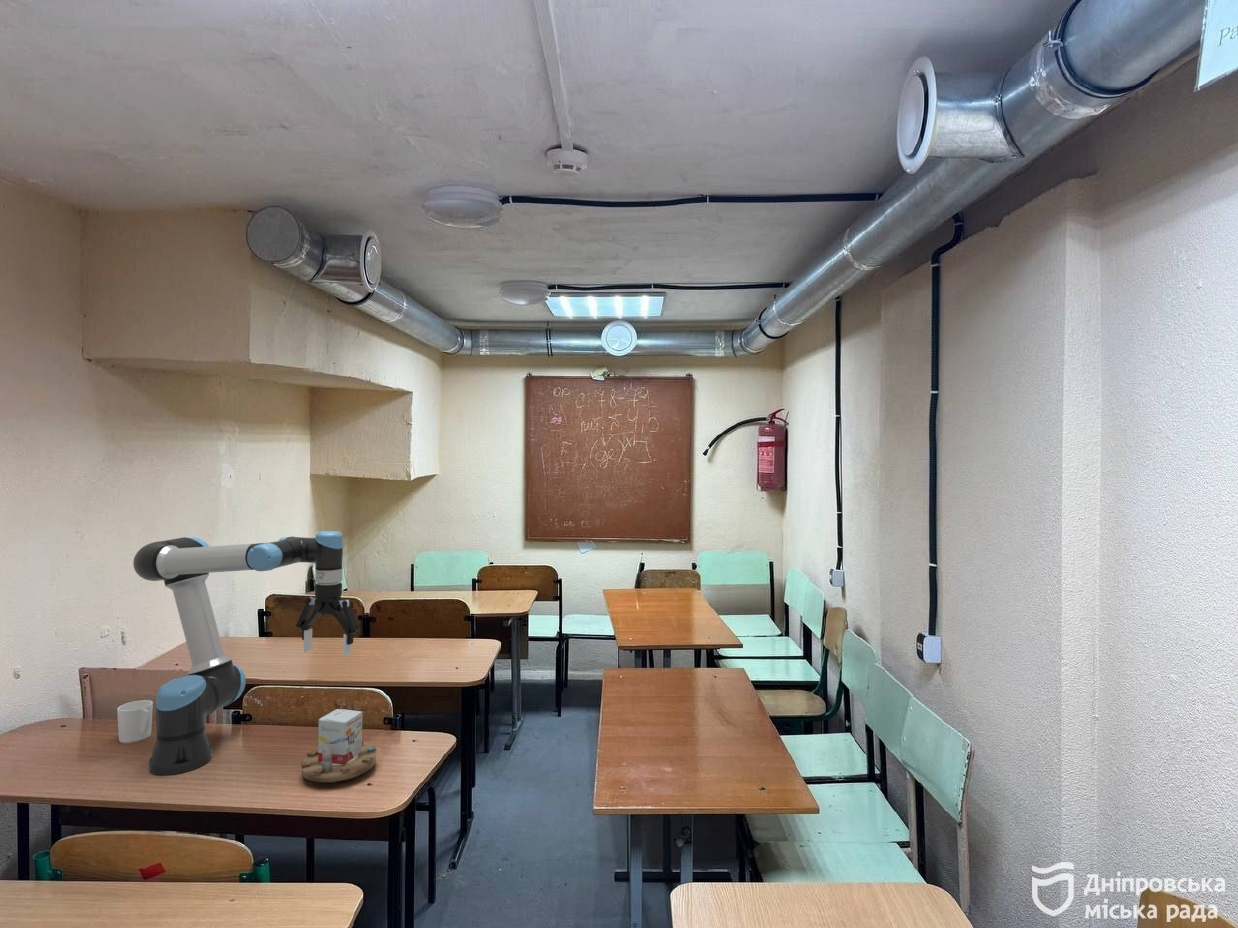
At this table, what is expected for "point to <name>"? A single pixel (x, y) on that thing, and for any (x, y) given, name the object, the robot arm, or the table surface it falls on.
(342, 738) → the ink box
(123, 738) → the mug
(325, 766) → the turntable
